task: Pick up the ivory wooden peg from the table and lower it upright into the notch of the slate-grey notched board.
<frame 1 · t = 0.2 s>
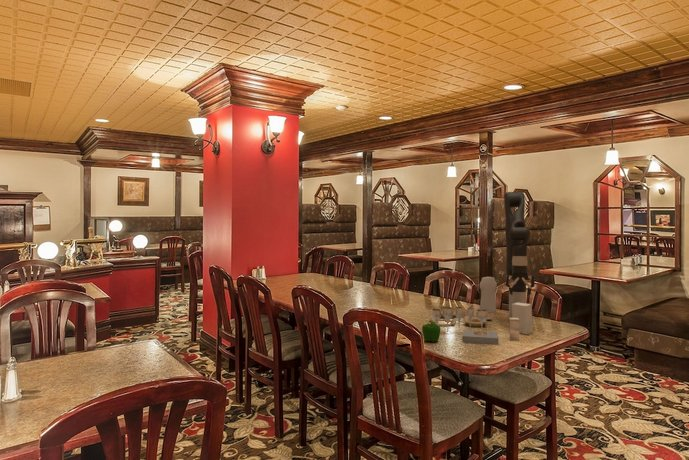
hand: (519, 294, 241), 18 cm above the table, tool pointing down, fingers open, 8 cm apart
skincare box: (522, 332, 233), on the table
tableware set: (460, 322, 258), on the table
goblet set: (459, 333, 233), on the table
bell pepper: (431, 341, 219), on the table
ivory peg: (514, 339, 220), on the table
croissant: (391, 345, 215), on the table
notched board: (480, 339, 220), on the table
tall pale column: (488, 312, 280), on the table
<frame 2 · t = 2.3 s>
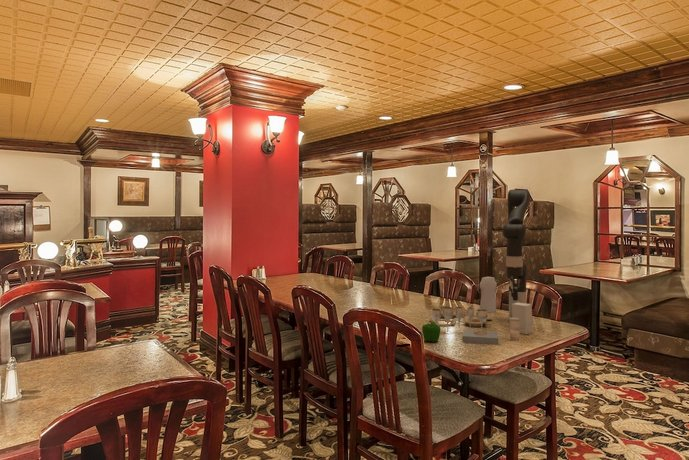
hand: (514, 298, 220), 20 cm above the table, tool pointing down, fingers open, 8 cm apart
nothing on the table moved.
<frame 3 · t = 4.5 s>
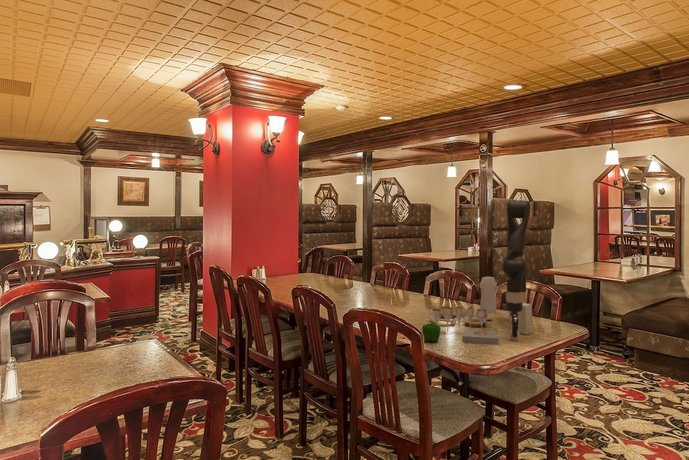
hand: (514, 335, 220), 2 cm above the table, tool pointing down, fingers closed on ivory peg, 4 cm apart
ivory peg: (514, 339, 220), on the table, touching gripper
everything else where it was.
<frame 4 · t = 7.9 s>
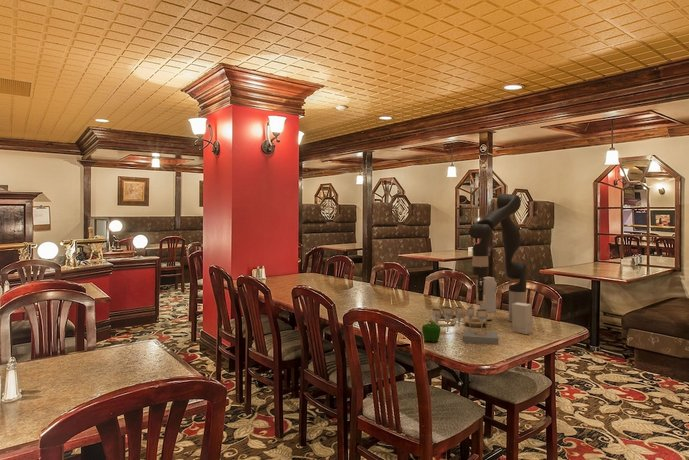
hand: (480, 299, 221), 19 cm above the table, tool pointing down, fingers closed on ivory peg, 4 cm apart
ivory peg: (480, 303, 221), point 17 cm above the table, touching gripper
everything else where it was.
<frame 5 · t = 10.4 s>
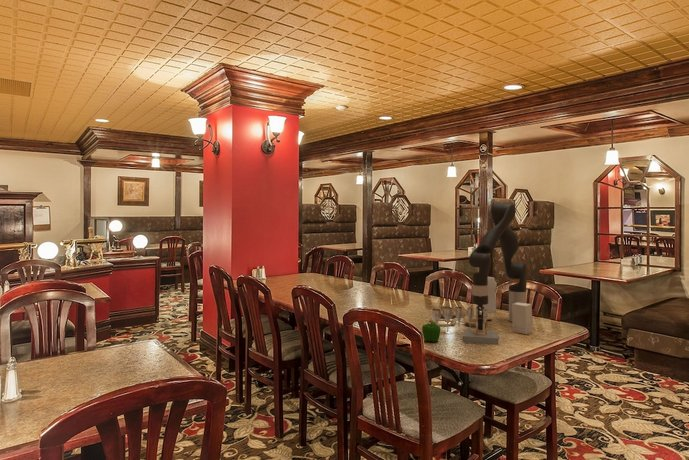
hand: (480, 328, 222), 5 cm above the table, tool pointing down, fingers closed on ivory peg, 4 cm apart
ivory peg: (480, 332, 222), point 3 cm above the table, touching gripper
everything else where it was.
when the fingers open (4 cm above the table, at t = 11.2 s): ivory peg drops 2 cm, resting in notched board.
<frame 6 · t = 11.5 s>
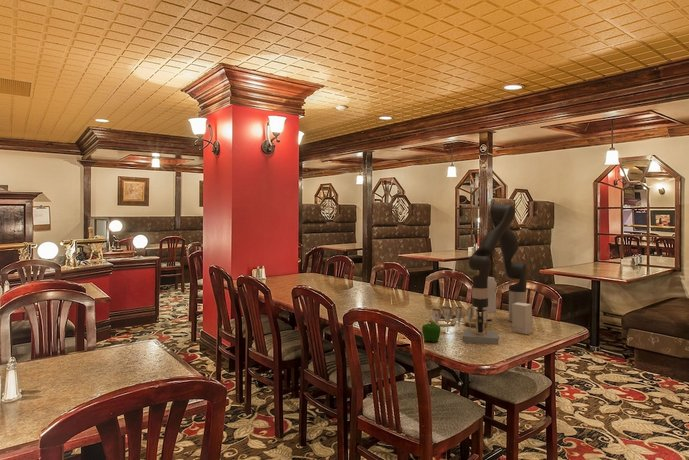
hand: (480, 330, 222), 4 cm above the table, tool pointing down, fingers open, 6 cm apart
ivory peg: (480, 338, 222), resting in notched board
everything else where it was.
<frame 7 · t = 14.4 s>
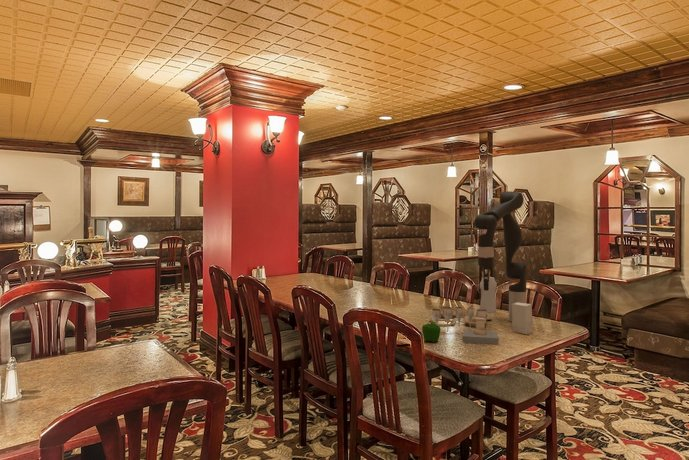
hand: (486, 288, 222), 25 cm above the table, tool pointing down, fingers open, 8 cm apart
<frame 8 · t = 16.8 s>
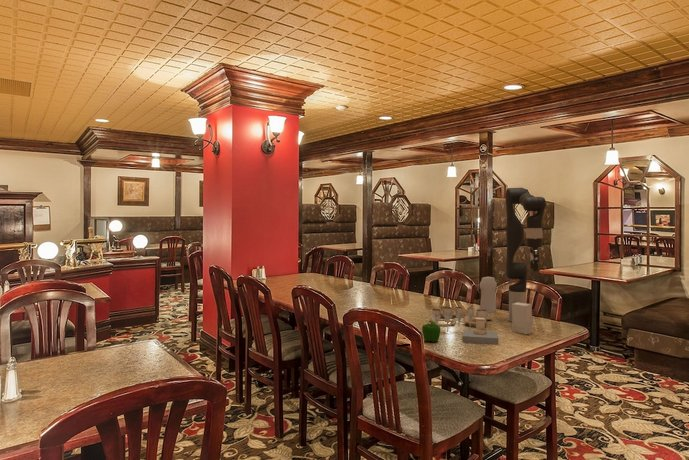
hand: (534, 269, 224), 33 cm above the table, tool pointing down, fingers open, 8 cm apart
at the end: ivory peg 0.1 cm from the target spot on the notched board, point 0.0 cm above the notched board's base; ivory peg tilted 0°; the gripper is holding nothing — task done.
